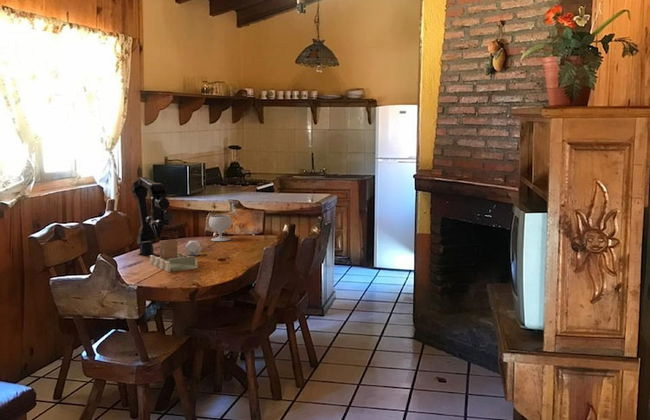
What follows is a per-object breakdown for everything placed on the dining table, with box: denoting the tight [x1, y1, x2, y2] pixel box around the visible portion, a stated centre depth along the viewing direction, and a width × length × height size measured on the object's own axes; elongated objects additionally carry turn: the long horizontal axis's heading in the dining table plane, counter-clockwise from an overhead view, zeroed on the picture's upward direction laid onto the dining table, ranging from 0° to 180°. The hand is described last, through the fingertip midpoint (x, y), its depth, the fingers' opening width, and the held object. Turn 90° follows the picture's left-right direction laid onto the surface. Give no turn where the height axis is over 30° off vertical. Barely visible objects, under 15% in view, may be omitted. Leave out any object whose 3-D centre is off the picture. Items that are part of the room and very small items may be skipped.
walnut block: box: [159, 238, 178, 260], centre depth 339 cm, size 6×7×9 cm
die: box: [184, 240, 203, 257], centre depth 364 cm, size 8×9×10 cm
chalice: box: [208, 214, 233, 242], centre depth 411 cm, size 14×14×15 cm
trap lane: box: [149, 251, 198, 273], centre depth 335 cm, size 24×15×6 cm, turn 35°
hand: (158, 237), depth 350 cm, fingers closed
